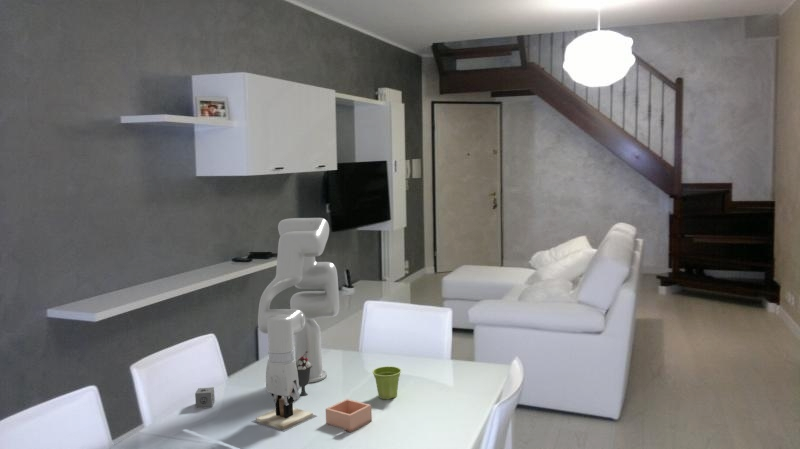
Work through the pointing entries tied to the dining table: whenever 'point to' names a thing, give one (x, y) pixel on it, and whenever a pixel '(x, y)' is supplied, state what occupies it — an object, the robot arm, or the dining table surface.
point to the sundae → (303, 373)
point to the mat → (282, 429)
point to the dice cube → (204, 397)
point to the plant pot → (387, 381)
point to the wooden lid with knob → (280, 420)
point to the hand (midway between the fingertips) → (284, 414)
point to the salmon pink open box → (349, 415)
